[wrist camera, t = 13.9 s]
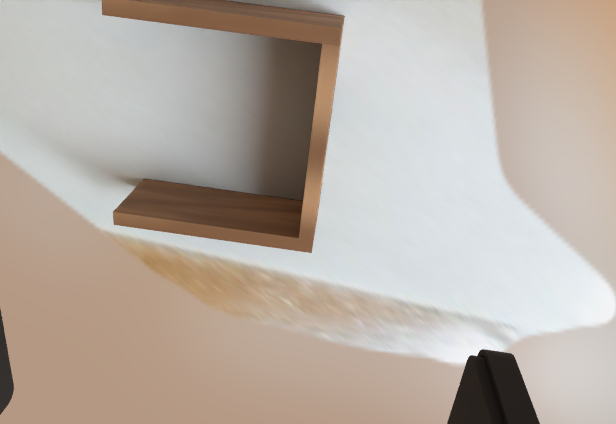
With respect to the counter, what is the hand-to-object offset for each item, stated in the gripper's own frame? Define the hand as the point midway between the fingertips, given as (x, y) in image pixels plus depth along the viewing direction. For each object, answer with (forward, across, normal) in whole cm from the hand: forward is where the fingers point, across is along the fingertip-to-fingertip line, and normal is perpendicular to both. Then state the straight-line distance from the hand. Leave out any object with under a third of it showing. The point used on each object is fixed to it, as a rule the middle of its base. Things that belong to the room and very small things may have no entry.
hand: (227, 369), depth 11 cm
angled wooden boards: (+30, +6, +4) cm, 31 cm away
